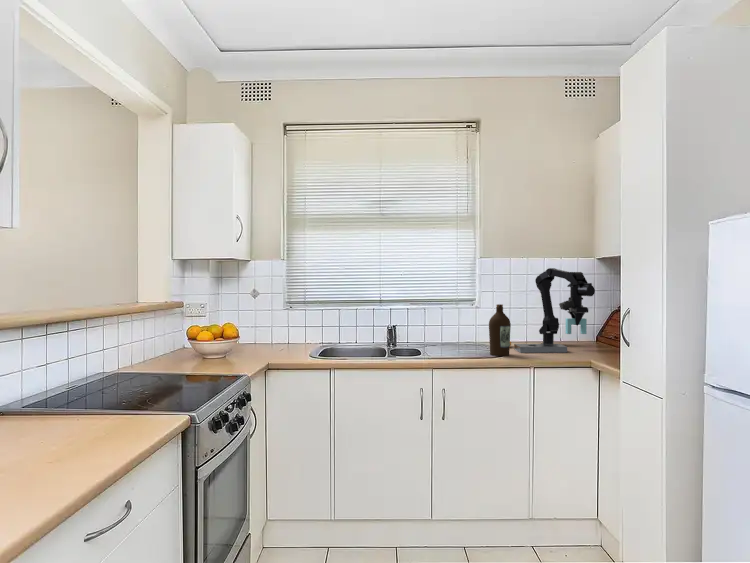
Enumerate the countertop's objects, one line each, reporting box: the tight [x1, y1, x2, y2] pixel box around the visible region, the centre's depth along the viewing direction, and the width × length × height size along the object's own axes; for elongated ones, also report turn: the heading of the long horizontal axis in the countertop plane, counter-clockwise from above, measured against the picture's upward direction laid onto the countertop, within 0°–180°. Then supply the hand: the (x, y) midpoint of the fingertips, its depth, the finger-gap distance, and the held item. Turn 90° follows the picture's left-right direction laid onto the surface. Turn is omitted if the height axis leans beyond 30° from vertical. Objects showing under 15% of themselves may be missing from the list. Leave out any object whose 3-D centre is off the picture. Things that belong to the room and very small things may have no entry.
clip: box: [565, 317, 587, 335], centre depth 299 cm, size 3×10×8 cm, turn 91°
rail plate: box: [513, 343, 568, 354], centre depth 294 cm, size 12×24×3 cm, turn 91°
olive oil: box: [488, 303, 511, 357], centre depth 281 cm, size 11×11×25 cm
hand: (575, 325), depth 299 cm, fingers closed on clip, 3 cm apart
